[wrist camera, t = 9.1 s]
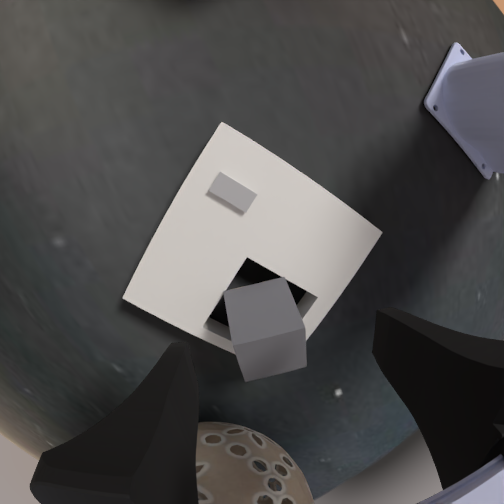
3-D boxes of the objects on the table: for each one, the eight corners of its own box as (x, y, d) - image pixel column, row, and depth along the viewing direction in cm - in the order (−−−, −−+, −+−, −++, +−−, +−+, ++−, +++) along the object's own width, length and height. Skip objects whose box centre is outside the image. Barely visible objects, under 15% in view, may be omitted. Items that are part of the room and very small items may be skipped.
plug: (281, 268, 20) (305, 327, 16) (285, 309, 22) (306, 366, 18) (221, 282, 19) (232, 345, 15) (233, 322, 22) (245, 382, 18)
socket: (370, 226, 21) (384, 233, 19) (275, 358, 23) (281, 375, 21) (220, 125, 18) (221, 121, 16) (128, 286, 20) (121, 300, 18)
